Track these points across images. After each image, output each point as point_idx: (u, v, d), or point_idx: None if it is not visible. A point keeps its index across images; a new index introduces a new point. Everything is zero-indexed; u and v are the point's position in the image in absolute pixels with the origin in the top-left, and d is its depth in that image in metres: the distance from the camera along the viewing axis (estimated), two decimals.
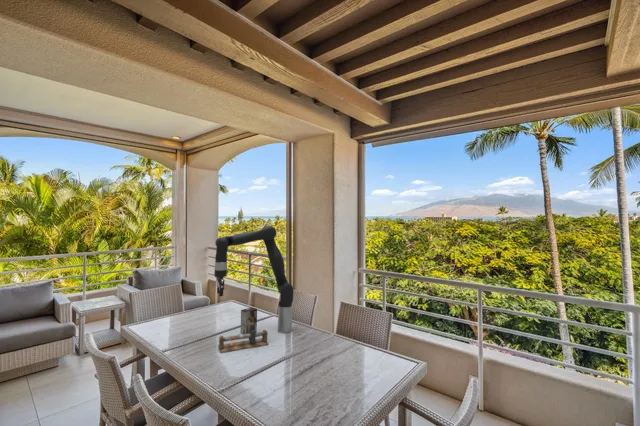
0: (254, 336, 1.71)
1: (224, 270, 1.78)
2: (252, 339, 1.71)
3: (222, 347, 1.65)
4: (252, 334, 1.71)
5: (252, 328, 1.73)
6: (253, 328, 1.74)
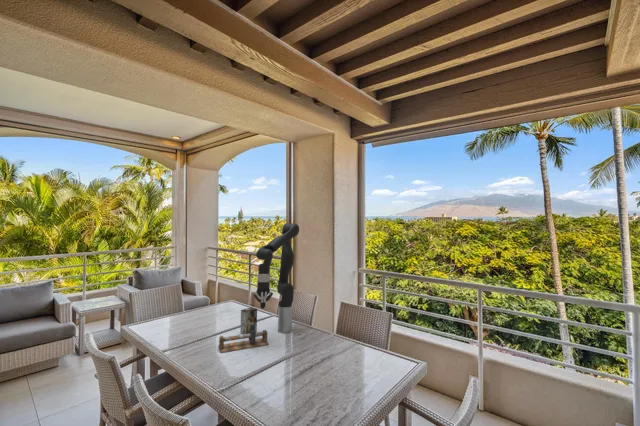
0: (254, 336, 1.71)
1: None
2: (252, 339, 1.71)
3: (222, 347, 1.65)
4: (252, 334, 1.71)
5: (252, 328, 1.73)
6: (253, 328, 1.74)
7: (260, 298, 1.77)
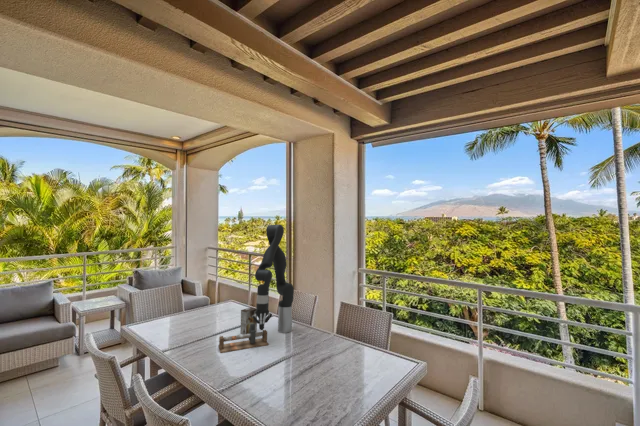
0: (254, 336, 1.71)
1: None
2: (252, 339, 1.71)
3: (222, 347, 1.65)
4: (252, 334, 1.71)
5: (252, 328, 1.73)
6: (253, 328, 1.74)
7: (259, 319, 1.77)
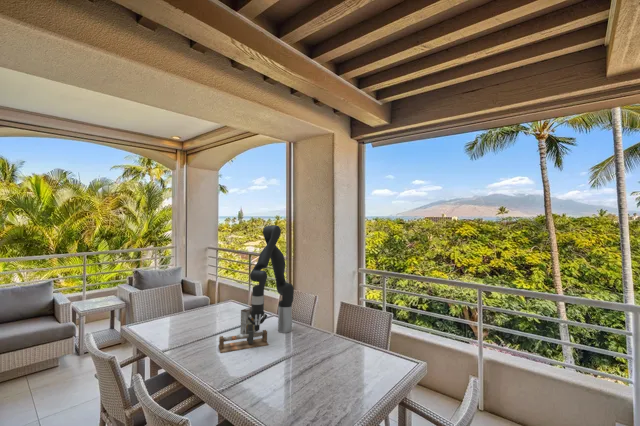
0: (252, 336, 1.71)
1: None
2: (250, 339, 1.70)
3: (222, 347, 1.65)
4: (250, 334, 1.70)
5: (250, 328, 1.73)
6: (251, 328, 1.73)
7: (254, 320, 1.75)
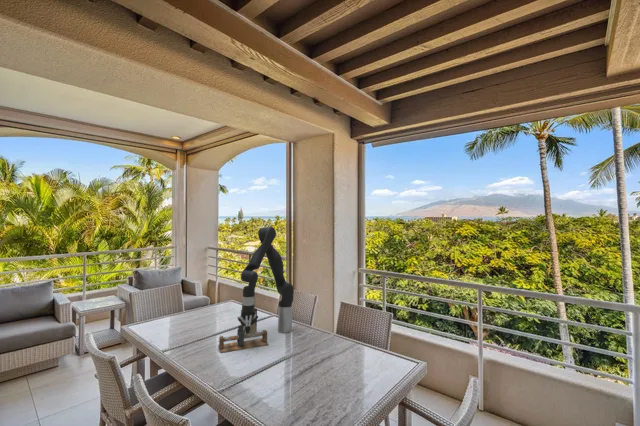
0: (242, 338, 1.68)
1: None
2: (240, 341, 1.68)
3: (222, 347, 1.65)
4: (240, 336, 1.68)
5: (240, 330, 1.70)
6: (241, 330, 1.70)
7: (245, 322, 1.73)
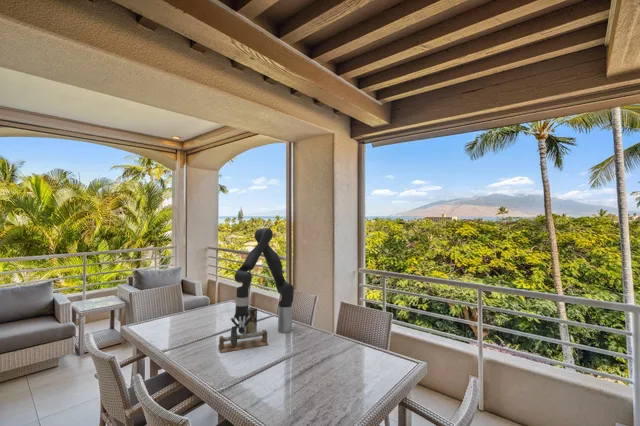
0: (236, 339, 1.67)
1: None
2: (233, 342, 1.66)
3: (222, 347, 1.65)
4: (233, 337, 1.66)
5: (234, 331, 1.68)
6: (235, 331, 1.69)
7: (238, 322, 1.71)
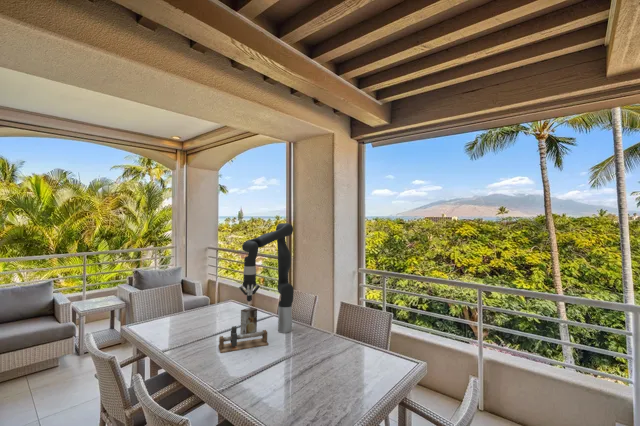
0: (235, 339, 1.67)
1: None
2: (233, 342, 1.66)
3: (222, 347, 1.65)
4: (233, 337, 1.66)
5: (233, 331, 1.68)
6: (235, 331, 1.69)
7: (246, 291, 1.75)
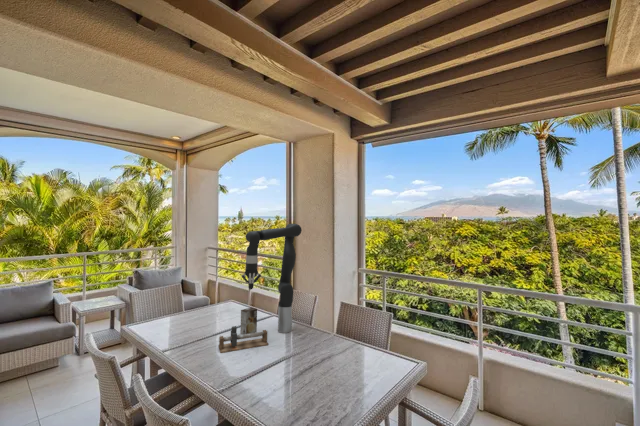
0: (235, 339, 1.67)
1: None
2: (233, 342, 1.66)
3: (222, 347, 1.65)
4: (233, 337, 1.66)
5: (233, 331, 1.68)
6: (235, 331, 1.69)
7: (248, 279, 1.82)
